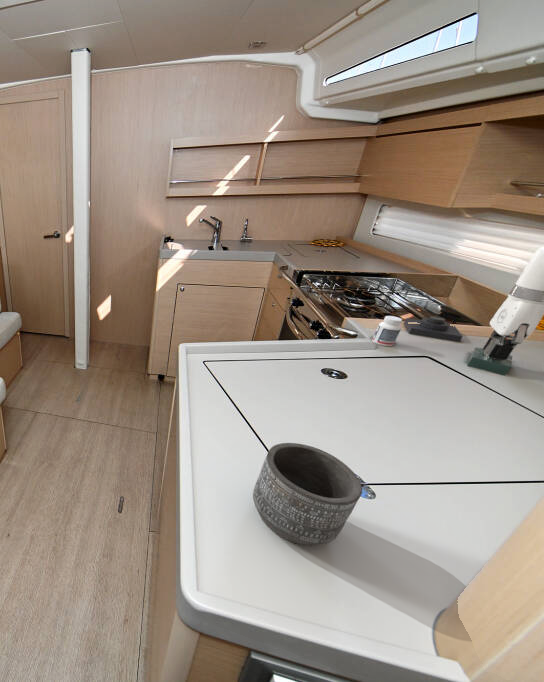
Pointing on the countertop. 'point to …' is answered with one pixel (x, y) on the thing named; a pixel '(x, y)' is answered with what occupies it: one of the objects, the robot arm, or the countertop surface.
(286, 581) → the countertop surface
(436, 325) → the housing
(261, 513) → the planter
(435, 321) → the button
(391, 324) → the pill bottle
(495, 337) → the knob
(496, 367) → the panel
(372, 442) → the countertop surface
